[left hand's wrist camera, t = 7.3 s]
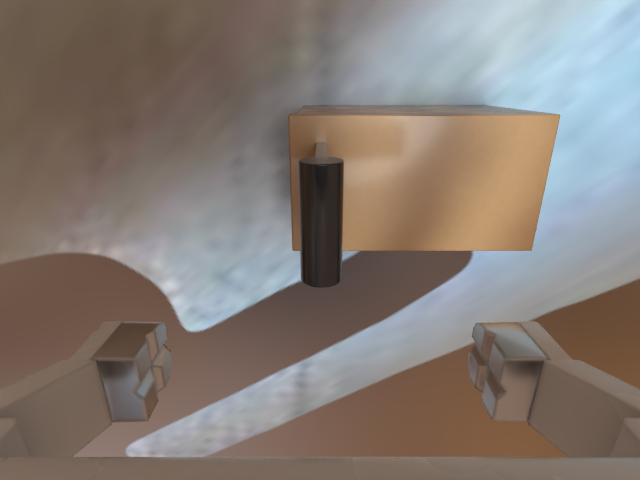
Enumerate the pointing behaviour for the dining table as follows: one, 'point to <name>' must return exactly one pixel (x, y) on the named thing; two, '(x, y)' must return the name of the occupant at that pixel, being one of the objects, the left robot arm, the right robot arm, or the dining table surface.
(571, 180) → the dining table surface
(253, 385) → the dining table surface
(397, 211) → the lid
